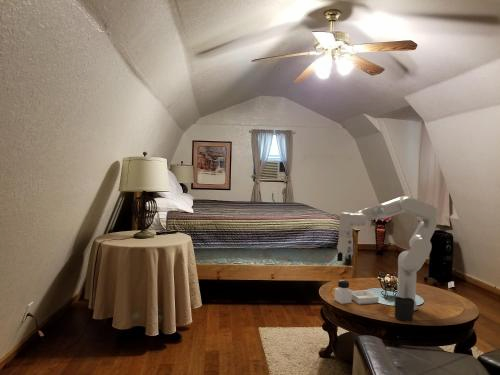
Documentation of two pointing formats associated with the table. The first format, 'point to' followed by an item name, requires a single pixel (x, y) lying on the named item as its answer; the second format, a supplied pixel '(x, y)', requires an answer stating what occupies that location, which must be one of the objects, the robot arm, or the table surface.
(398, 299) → the pen holder
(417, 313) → the table surface
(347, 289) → the medicine bottle
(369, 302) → the tray
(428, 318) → the table surface
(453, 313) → the table surface
